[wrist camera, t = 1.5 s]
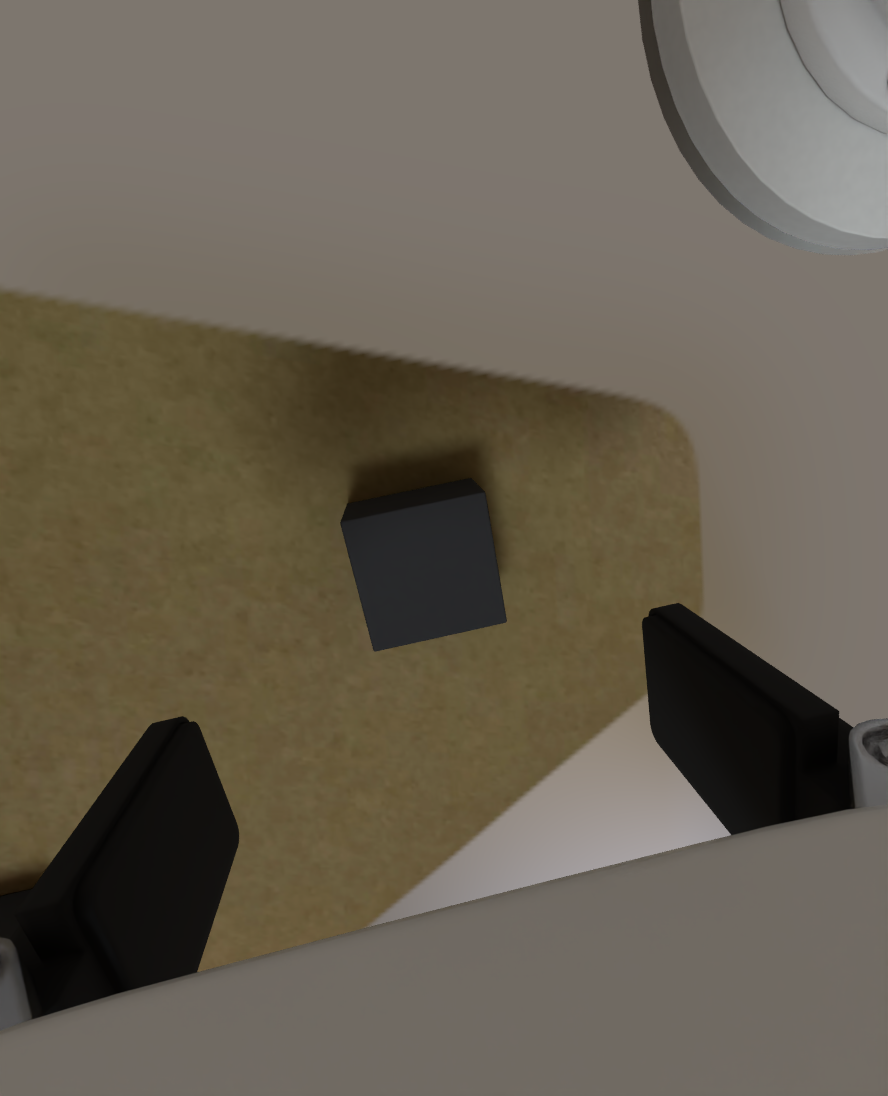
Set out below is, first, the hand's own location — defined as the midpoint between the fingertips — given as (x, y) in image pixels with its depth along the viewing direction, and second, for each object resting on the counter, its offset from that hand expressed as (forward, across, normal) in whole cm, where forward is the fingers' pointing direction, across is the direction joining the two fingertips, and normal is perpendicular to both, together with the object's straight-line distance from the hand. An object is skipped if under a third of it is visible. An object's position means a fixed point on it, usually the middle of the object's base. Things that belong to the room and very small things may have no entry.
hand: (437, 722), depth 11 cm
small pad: (+11, -1, 0) cm, 11 cm away
